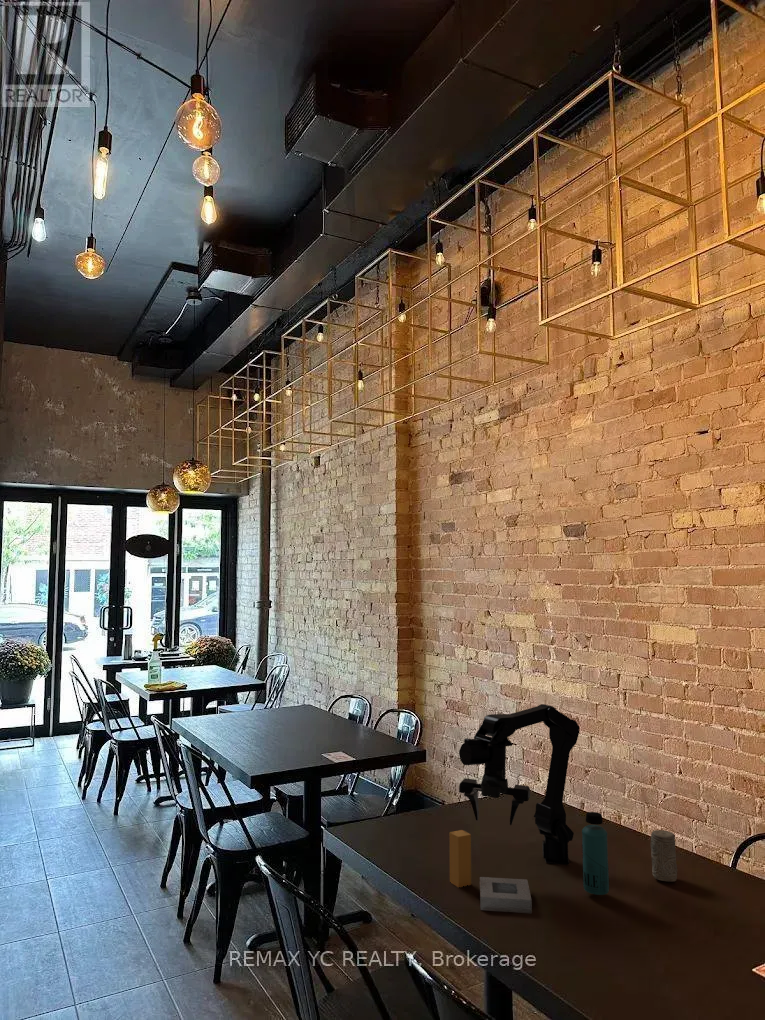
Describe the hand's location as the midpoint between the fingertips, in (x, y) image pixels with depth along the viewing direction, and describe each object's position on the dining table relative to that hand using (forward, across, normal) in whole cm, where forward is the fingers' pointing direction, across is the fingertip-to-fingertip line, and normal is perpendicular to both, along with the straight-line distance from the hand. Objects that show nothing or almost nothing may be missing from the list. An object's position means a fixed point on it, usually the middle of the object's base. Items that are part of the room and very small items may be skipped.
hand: (493, 822), depth 190 cm
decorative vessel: (+12, +44, +12) cm, 47 cm away
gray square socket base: (+14, +6, -15) cm, 21 cm away
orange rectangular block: (+14, -7, -8) cm, 18 cm away
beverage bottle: (+13, +27, -5) cm, 30 cm away
